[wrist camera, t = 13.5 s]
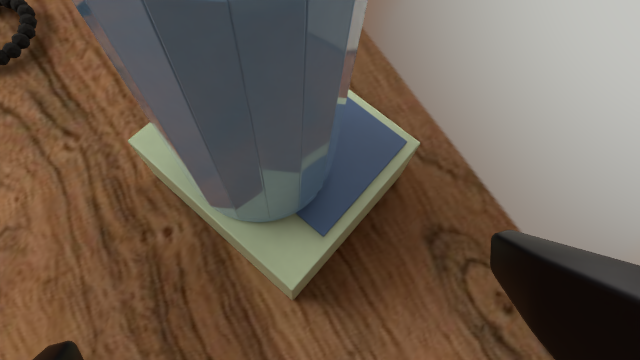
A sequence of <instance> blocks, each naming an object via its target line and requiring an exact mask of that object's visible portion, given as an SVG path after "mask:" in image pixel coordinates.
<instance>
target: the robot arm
mask: <svg viewBox="0 0 640 360" xmlns="http://www.w3.org/2000/svg"><path fill="white" fill-rule="evenodd" d="M490 266H491V270H492V272H493V274H494V276H495V278H496V279H497V280H498V282H499V283H500V285H501V286H502V288H503V289H504V291H505V292H506V294H507V295H508V297H509V298H510V300H511V301H512V303H513V304H514V306H515V307H516V309H517V310H518V312H519V313H520V315H521V316H522V318H523V319H524V321H525V322H526V324H527V325H528V326H529V328H530V329H531V330H532V332H533V333H534V334H535V336H536V337H537V338H538V339H539V341H540V342H541V343H542V344H543V345H544V347H545V348H546V349H547V350H548V351H549V353H550V354H551V355H552V356H553V358H554V359H555V360H640V266H639V265H635V264H632V263H628V262H625V261H621V260H618V259H614V258H610V257H607V256H603V255H600V254H596V253H592V252H589V251H585V250H582V249H577V248H574V247H571V246H567V245H564V244H560V243H556V242H553V241H549V240H546V239H542V238H538V237H535V236H531V235H528V234H524V233H520V232H517V231H513V230H507V231H503V232H499V233H495V234H494V235H493V236H492V238H491V256H490ZM33 360H84V359H83V357H82V355H81V353H80V351H79V349H78V347H77V346H76V344H75V343H74V342H72V341H65V342H61V343H57V344H53V345H50V346H48V347H47V348H45V349H44V350H43V351H42V352H41V353H40V354H38V355H37V356H36V357H35V358H34V359H33Z"/></svg>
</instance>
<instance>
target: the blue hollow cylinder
mask: <svg viewBox="0 0 640 360" xmlns="http://www.w3.org/2000/svg"><path fill="white" fill-rule="evenodd" d="M367 1H368V0H72V2H73V3H74V5H75V6H76V8H77V9H78V11H79V12H80V14H81V16H82V17H83V19H84V20H85V22H86V23H87V25H88V26H89V28H90V29H91V31H92V33H93V34H94V36H95V37H96V39H97V40H98V42H99V43H100V45H101V46H102V48H103V50H104V51H105V53H106V54H107V56H108V57H109V59H110V60H111V62H112V63H113V65H114V67H115V68H116V70H117V71H118V73H119V74H120V76H121V77H122V79H123V80H124V82H125V84H126V85H127V87H128V88H129V90H130V91H131V93H132V94H133V96H134V97H135V99H136V101H137V102H138V104H139V105H140V107H141V108H142V110H143V111H144V113H145V114H146V116H147V118H148V119H149V121H150V122H151V124H152V125H153V127H154V128H155V130H156V131H157V133H158V135H159V136H160V138H161V139H162V141H163V142H164V144H165V145H166V147H167V148H168V150H169V152H170V153H171V155H172V156H173V158H174V159H175V161H176V162H177V164H178V165H179V167H180V169H181V170H182V172H183V173H184V175H185V176H186V178H187V179H188V181H189V182H190V184H191V185H192V187H193V188H194V189H195V190H196V191H197V192H198V194H199V195H200V196H201V198H202V199H203V200H204V201H205V202H206V203H207V204H208V205H209V206H211V207H212V208H214V209H215V210H216V211H218V212H220V213H222V214H224V215H226V216H228V217H231V218H233V219H237V220H241V221H246V222H268V221H275V220H278V219H282V218H285V217H287V216H290V215H292V214H294V213H296V212H298V211H299V210H301V209H303V208H304V207H305V206H306V205H308V204H309V203H310V202H311V201H312V200H313V199H314V198H315V197H316V196H317V195H318V193H319V192H320V191H321V189H322V188H323V186H324V184H325V182H326V180H327V178H328V175H329V172H330V169H331V167H332V165H333V160H334V156H335V151H336V146H337V142H338V137H339V132H340V128H341V123H342V118H343V114H344V109H345V104H346V100H347V95H348V90H349V85H350V81H351V76H352V71H353V67H354V62H355V57H356V53H357V48H358V43H359V39H360V34H361V29H362V25H363V20H364V15H365V10H366V5H367Z"/></svg>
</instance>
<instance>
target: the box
mask: <svg viewBox="0 0 640 360" xmlns="http://www.w3.org/2000/svg"><path fill="white" fill-rule="evenodd" d="M128 142H129V144H130V145H131V146H132V147H133V148H134V150H135V151H136V152H137V153H138V155H139V156H140V157H141V158H142V159H143V161H144V162H145V163H146V164H147V166H148V167H149V168H150V169H151V170H152V172H153V173H154V174H155V175H156V176H157V177H158V178H159V179H160V180H161V181H162V182H163V183H164V184H166V185H167V186H168V187H169V188H170V189H171V190H172V191H173V192H174V193H175V194H176V195H178V196H179V197H180V198H181V199H182V200H183V201H184V202H185V203H186V204H187V205H188V206H190V207H191V208H192V209H193V210H194V211H195V212H196V213H197V214H198V215H199V216H200V217H202V218H203V219H204V220H205V221H206V222H207V223H208V224H209V225H210V226H211V227H212V228H214V229H215V230H216V231H217V232H218V233H219V234H220V235H221V236H222V237H223V238H224V239H226V240H227V241H228V242H229V243H230V244H231V245H232V246H233V247H234V248H235V249H236V250H238V251H239V252H240V253H241V254H242V255H243V256H244V257H245V258H246V259H247V260H248V261H250V262H251V263H252V264H253V265H254V266H255V267H256V268H257V269H258V270H259V271H260V272H262V273H263V274H264V275H265V276H266V277H267V278H268V279H269V280H270V281H271V282H272V283H274V284H275V285H276V286H277V287H278V288H279V289H280V290H281V291H282V292H283V293H284V294H286V295H287V296H288V297H289V298H290V299H291V300H294V299H295V298H296V296H297V295H298V294H299V293H300V292H301V291H302V289H303V288H304V287H305V286H306V285H307V284H308V282H309V281H310V280H311V279H312V278H313V277H314V275H315V274H316V273H317V272H318V271H319V270H320V268H321V267H322V266H323V265H324V264H325V263H326V262H327V260H328V259H329V258H330V257H331V256H332V255H333V253H334V252H335V251H336V250H337V249H338V248H339V246H340V245H341V244H342V243H343V242H344V241H345V239H346V238H347V237H348V236H349V235H350V234H351V232H352V231H353V230H354V229H355V228H356V227H357V225H358V224H359V223H360V222H361V221H362V220H363V218H364V217H365V216H366V215H367V214H368V213H369V211H370V210H371V209H372V208H373V207H374V206H375V204H376V203H377V202H378V201H379V200H380V199H381V197H382V196H383V195H384V194H385V193H386V192H387V190H388V189H389V188H390V187H391V186H392V185H393V184H394V182H395V181H396V180H397V179H398V178H399V177H400V175H401V174H402V172H403V170H404V169H405V167H406V166H407V164H408V162H409V161H410V159H411V158H412V156H413V155H414V153H415V151H416V150H417V148H418V147H419V145H420V142H419V141H417V140H416V139H415V138H413V137H412V136H411V135H409V134H408V133H407V132H405V131H404V130H403V129H401V128H400V127H399V126H397V125H396V124H395V123H393V122H392V121H390V120H389V119H388V118H386V117H385V116H384V115H382V114H381V113H380V112H378V111H377V110H376V109H374V108H373V107H372V106H370V105H369V104H368V103H366V102H365V101H364V100H362V99H361V98H360V97H358V96H357V95H356V94H354V93H353V92H352V91H350V90H348V95H347V100H346V104H345V109H344V114H343V118H342V123H341V128H340V132H339V137H338V142H337V146H336V151H335V156H334V160H333V165H332V167H331V169H330V172H329V175H328V178H327V180H326V182H325V184H324V186H323V188H322V189H321V191H320V192H319V193H318V195H317V196H316V197H315V198H314V199H313V200H312V201H311V202H310V203H309V204H308V205H306V206H305V207H304V208H303V209H301V210H299V211H298V212H296V213H294V214H292V215H290V216H287V217H285V218H282V219H278V220H275V221H268V222H246V221H241V220H237V219H233V218H231V217H228V216H226V215H224V214H222V213H220V212H218V211H216V210H215V209H214V208H212V207H211V206H209V205H208V204H207V203H206V202H205V201H204V200H203V199H202V198H201V196H200V195H199V194H198V192H197V191H196V190H195V189H194V188H193V187H192V185H191V184H190V182H189V181H188V179H187V178H186V176H185V175H184V173H183V172H182V170H181V169H180V167H179V165H178V164H177V162H176V161H175V159H174V158H173V156H172V155H171V153H170V152H169V150H168V148H167V147H166V145H165V144H164V142H163V141H162V139H161V138H160V136H159V135H158V133H157V131H156V130H155V128H154V127H153V125H152V124H151V122H150V123H149V124H147V125H146V126H145V127H144V128H143V129H141V130H140V131H139V132H138V133H137V134H135V135H134V136H133V137H132V138H130V139H129V140H128Z"/></svg>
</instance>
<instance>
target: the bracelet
mask: <svg viewBox="0 0 640 360" xmlns="http://www.w3.org/2000/svg"><path fill="white" fill-rule="evenodd" d="M0 6H4V7H6V8H10V9H11V8H12V9H13V10H14V11H15V12H17V13H18V14H19V16H20V20H19V22H20V23H21V25H19V27H18V31H17V32H18V33H17V34H14V35H13V36H12V43H11V42H10V43H6V44H5V45H4V47H3V49H2V50H0V65H6V64H8V62H9V60H10V58H17V57H19V56H20V54H21V49H25V48H28V46H29V45H30V40H29V39H32V38H33V37H34V36H35V30H34V28H36V24H37V20H36V19H35V18H34V16H35V13H34V11H33V9H32V8H31V7H30V6H29V5H28V4H27V2H25V1H24V0H0Z"/></svg>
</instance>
